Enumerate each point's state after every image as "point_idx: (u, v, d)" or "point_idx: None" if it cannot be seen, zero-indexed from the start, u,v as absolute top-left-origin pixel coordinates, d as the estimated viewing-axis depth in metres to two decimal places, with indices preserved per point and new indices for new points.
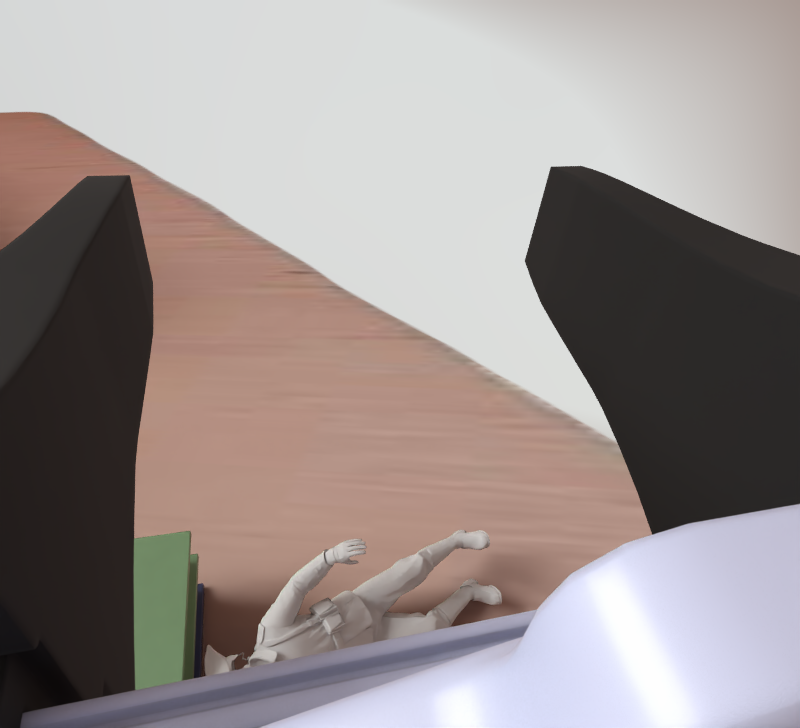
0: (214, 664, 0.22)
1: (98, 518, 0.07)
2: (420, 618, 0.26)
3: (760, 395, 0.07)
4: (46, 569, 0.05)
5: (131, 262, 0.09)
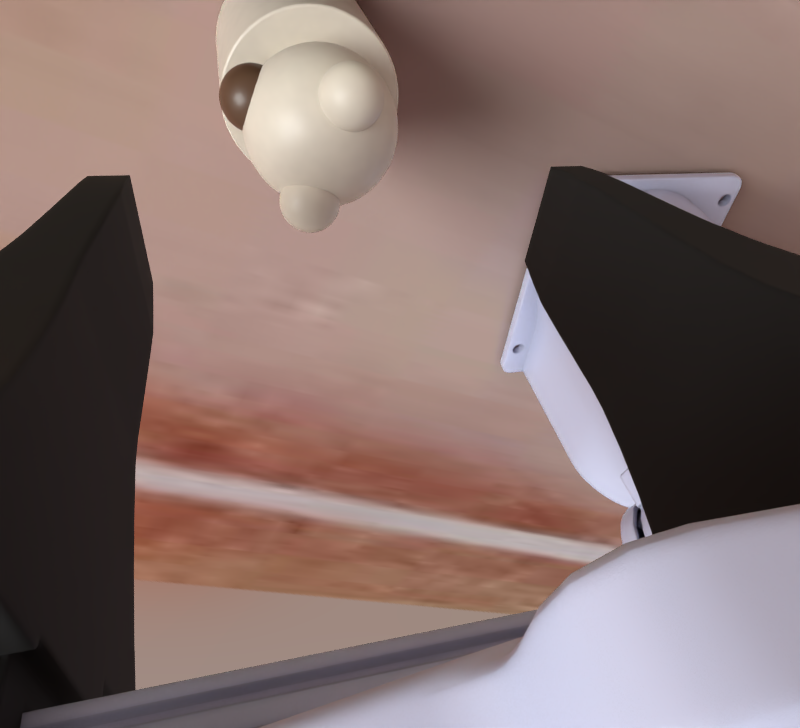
0: None
1: (98, 518, 0.07)
2: None
3: (760, 395, 0.07)
4: (46, 569, 0.05)
5: (131, 262, 0.09)
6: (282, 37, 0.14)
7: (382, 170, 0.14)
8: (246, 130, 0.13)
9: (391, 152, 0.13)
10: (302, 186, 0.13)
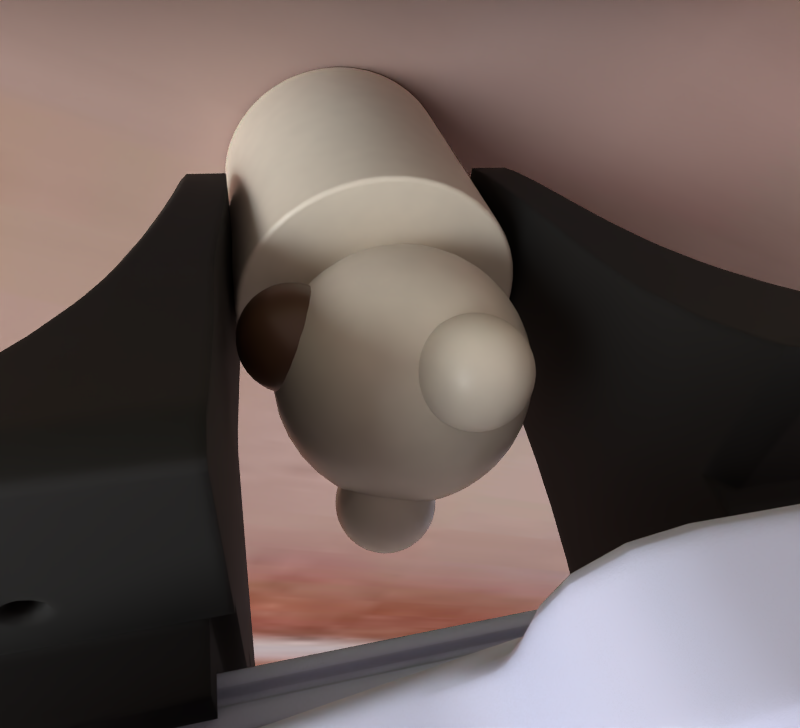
0: None
1: (235, 499, 0.07)
2: None
3: (648, 409, 0.07)
4: (230, 541, 0.05)
5: None
6: (340, 227, 0.08)
7: (507, 450, 0.08)
8: (282, 403, 0.08)
9: (522, 422, 0.08)
10: (377, 497, 0.08)
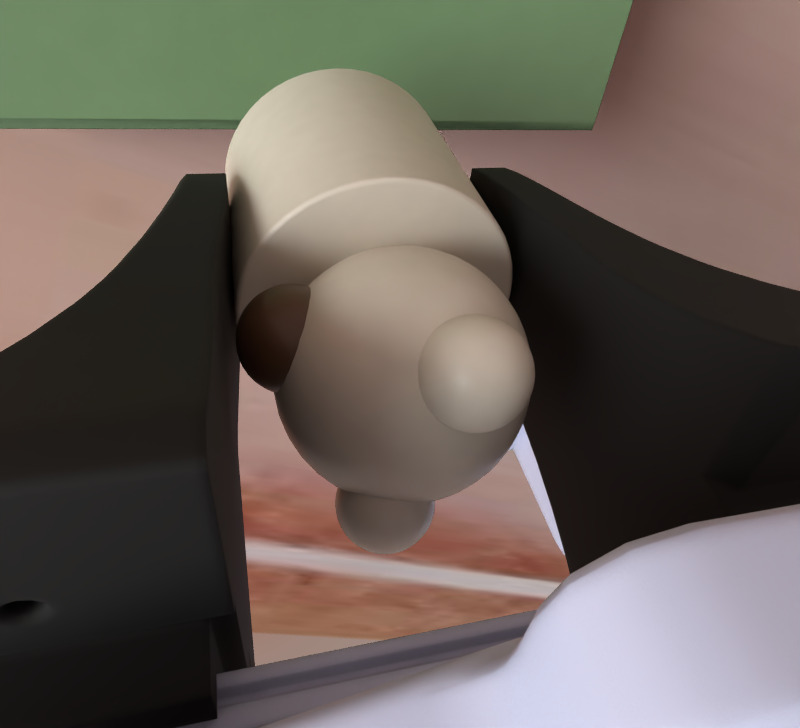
0: None
1: (235, 499, 0.07)
2: None
3: (647, 409, 0.07)
4: (230, 541, 0.05)
5: (231, 257, 0.09)
6: (339, 228, 0.08)
7: (506, 451, 0.08)
8: (282, 404, 0.08)
9: (522, 423, 0.08)
10: (377, 497, 0.08)
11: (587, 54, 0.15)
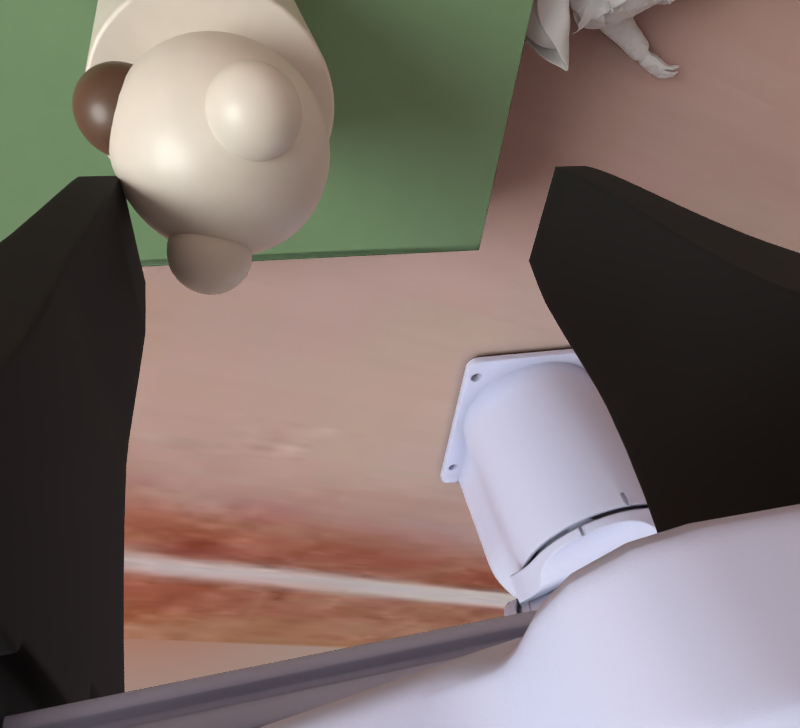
0: None
1: (85, 520, 0.07)
2: None
3: (766, 394, 0.07)
4: (29, 572, 0.05)
5: (122, 263, 0.09)
6: (165, 24, 0.10)
7: (308, 208, 0.10)
8: (112, 157, 0.09)
9: (320, 184, 0.10)
10: (194, 235, 0.09)
11: (466, 198, 0.18)
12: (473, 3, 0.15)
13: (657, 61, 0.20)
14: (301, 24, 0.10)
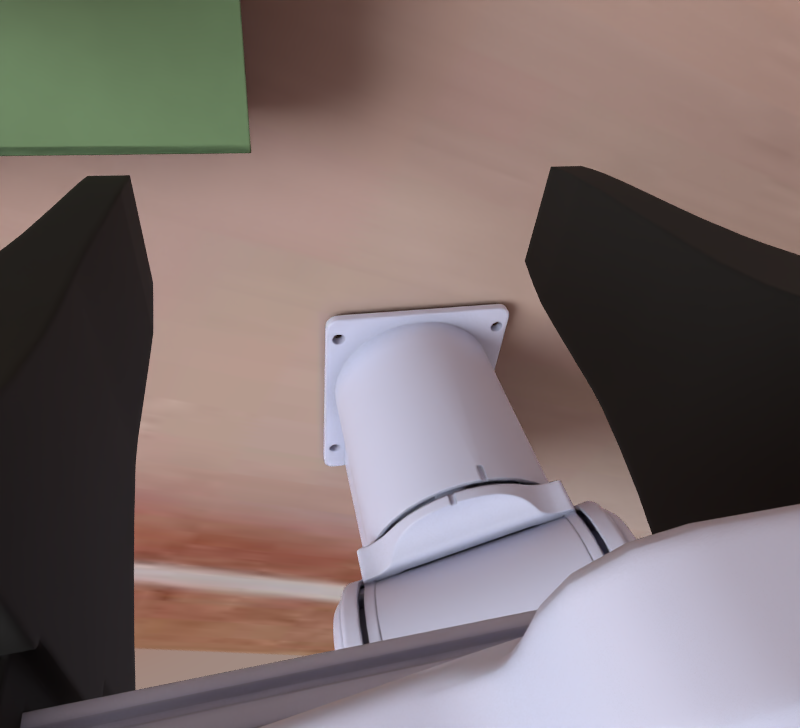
0: None
1: (98, 518, 0.07)
2: None
3: (760, 395, 0.07)
4: (46, 569, 0.05)
5: (131, 262, 0.09)
6: None
7: None
8: None
9: None
10: None
11: (211, 78, 0.14)
12: None
13: None
14: None
